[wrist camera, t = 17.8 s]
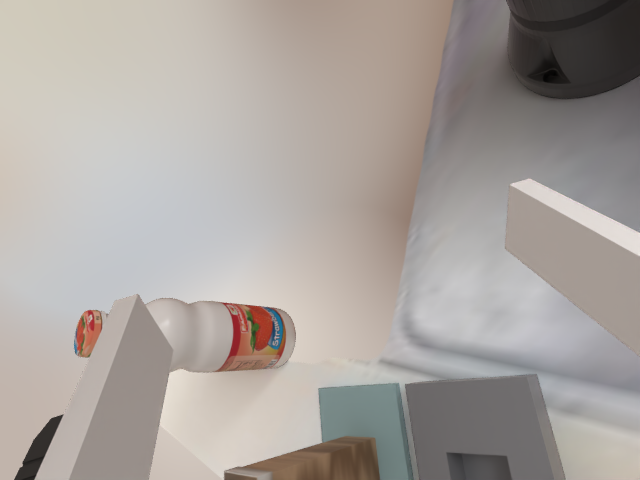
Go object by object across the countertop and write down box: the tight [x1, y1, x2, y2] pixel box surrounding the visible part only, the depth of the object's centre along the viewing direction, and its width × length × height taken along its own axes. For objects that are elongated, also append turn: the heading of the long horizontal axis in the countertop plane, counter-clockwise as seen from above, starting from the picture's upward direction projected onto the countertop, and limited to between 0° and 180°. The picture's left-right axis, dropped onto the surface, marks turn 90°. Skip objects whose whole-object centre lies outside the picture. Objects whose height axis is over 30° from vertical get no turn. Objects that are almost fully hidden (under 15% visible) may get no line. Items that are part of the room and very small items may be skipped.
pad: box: [319, 383, 413, 480], centre depth 44 cm, size 16×12×1 cm
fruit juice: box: [74, 298, 296, 373], centre depth 49 cm, size 9×9×28 cm
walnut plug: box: [224, 436, 380, 480], centre depth 37 cm, size 5×5×18 cm
